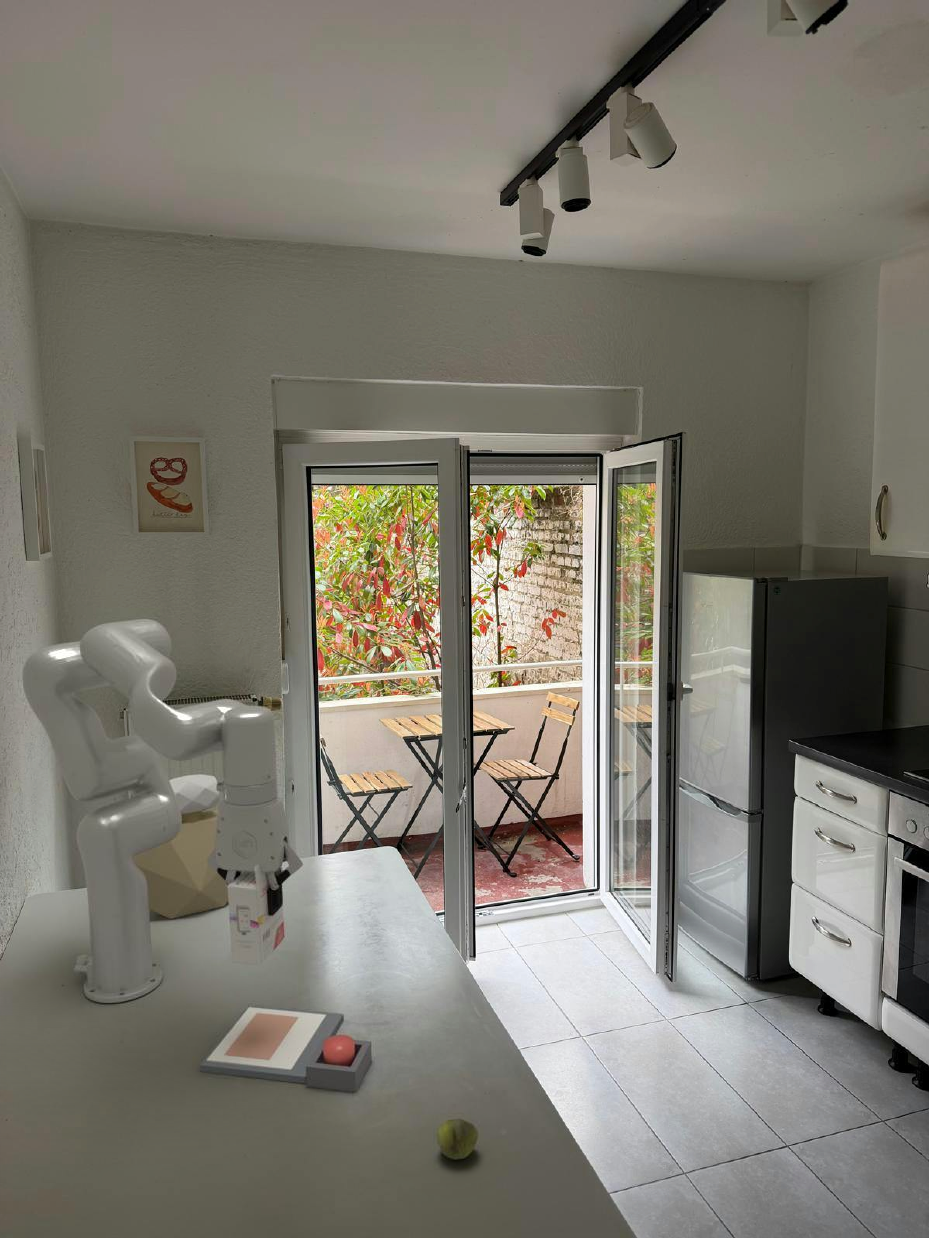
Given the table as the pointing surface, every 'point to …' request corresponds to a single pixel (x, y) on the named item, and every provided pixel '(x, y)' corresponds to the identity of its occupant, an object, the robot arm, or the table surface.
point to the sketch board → (271, 1043)
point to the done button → (339, 1050)
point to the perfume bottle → (187, 855)
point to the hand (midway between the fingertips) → (256, 909)
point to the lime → (457, 1138)
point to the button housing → (339, 1069)
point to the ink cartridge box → (253, 919)
